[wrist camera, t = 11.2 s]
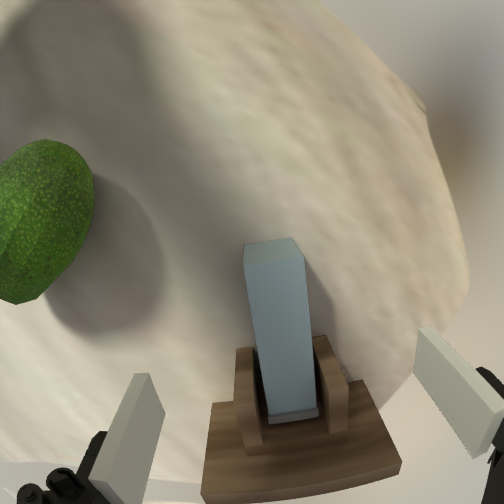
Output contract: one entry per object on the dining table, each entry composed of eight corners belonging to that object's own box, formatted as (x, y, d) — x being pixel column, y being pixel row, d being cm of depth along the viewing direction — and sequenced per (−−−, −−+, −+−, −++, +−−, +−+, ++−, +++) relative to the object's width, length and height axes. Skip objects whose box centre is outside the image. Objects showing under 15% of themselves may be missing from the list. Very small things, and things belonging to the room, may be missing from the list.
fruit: (60, 307, 28) (5, 354, 18) (1, 245, 26) (-62, 272, 17) (137, 188, 25) (80, 200, 16) (64, 123, 24) (-6, 111, 14)
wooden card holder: (197, 353, 29) (174, 445, 18) (363, 327, 29) (415, 407, 17) (216, 415, 31) (206, 504, 20) (361, 393, 31) (398, 474, 19)
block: (243, 245, 27) (241, 268, 20) (293, 237, 27) (306, 258, 20) (265, 380, 30) (269, 424, 24) (307, 374, 30) (318, 416, 24)
